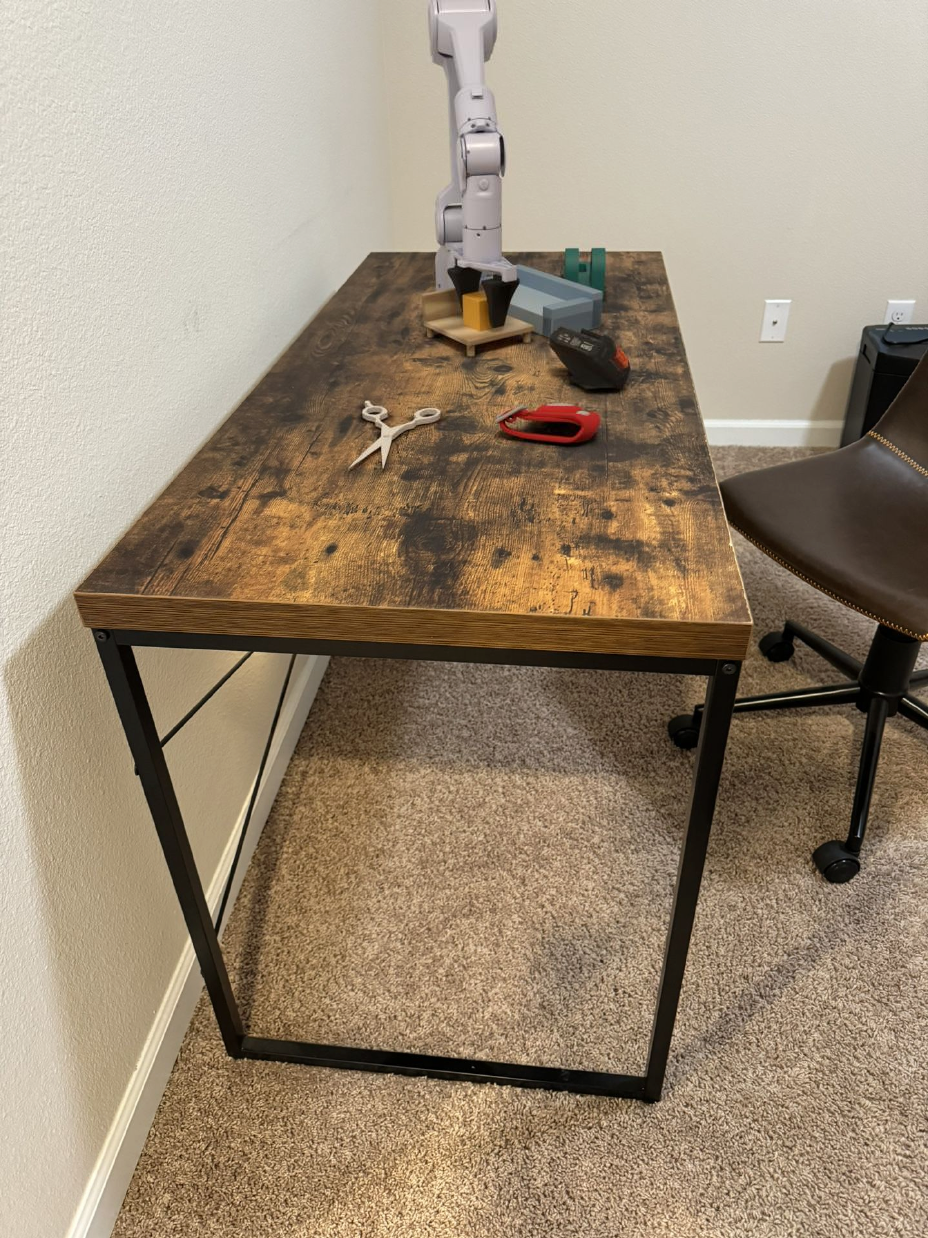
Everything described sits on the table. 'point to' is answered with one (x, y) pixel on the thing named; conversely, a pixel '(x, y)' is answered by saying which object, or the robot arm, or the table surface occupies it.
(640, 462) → the table surface
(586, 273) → the bracket
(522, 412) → the tracker holder
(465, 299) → the block
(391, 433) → the scissors
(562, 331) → the battery
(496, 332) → the low wooden bench
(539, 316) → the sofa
